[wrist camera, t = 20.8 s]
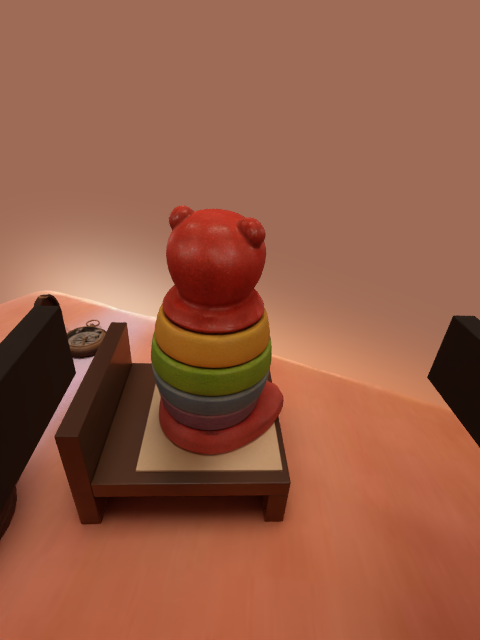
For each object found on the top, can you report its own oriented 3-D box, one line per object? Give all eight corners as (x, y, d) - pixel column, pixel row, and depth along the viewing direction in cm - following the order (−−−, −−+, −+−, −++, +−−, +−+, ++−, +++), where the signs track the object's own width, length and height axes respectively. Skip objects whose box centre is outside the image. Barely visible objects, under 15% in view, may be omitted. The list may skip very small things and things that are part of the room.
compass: (104, 358, 46) (95, 309, 42) (39, 358, 45) (24, 308, 41) (118, 325, 52) (111, 280, 49) (61, 325, 52) (51, 279, 48)
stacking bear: (289, 397, 34) (322, 207, 25) (241, 482, 26) (264, 249, 17) (193, 361, 38) (191, 185, 29) (126, 425, 30) (94, 211, 21)
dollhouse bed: (264, 399, 41) (273, 325, 36) (282, 521, 29) (300, 437, 24) (122, 398, 40) (111, 322, 35) (80, 524, 28) (53, 436, 23)
